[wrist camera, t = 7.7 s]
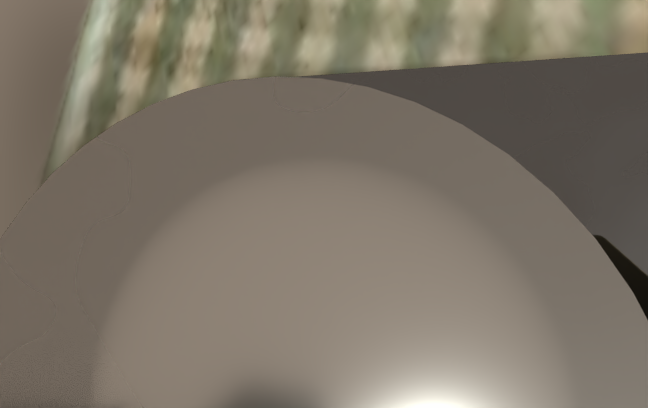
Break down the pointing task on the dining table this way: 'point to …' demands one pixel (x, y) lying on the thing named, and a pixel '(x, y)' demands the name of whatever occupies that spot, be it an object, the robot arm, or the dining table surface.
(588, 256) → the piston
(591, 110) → the tube holder stand
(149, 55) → the dining table surface
